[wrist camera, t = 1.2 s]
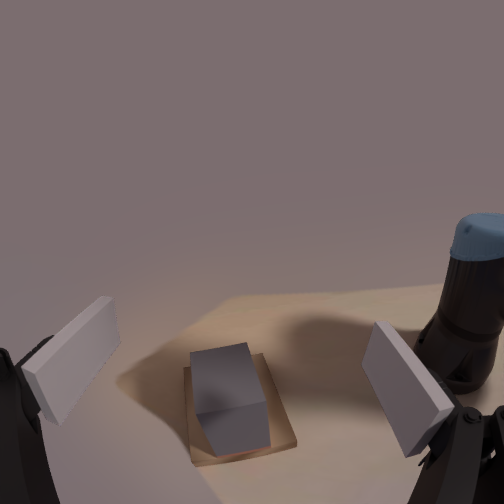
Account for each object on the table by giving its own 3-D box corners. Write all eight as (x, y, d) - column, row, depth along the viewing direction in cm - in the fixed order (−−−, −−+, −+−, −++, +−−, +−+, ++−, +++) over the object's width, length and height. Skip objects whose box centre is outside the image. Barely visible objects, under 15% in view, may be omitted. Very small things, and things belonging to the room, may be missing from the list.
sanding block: (254, 397, 31) (246, 342, 27) (271, 447, 24) (266, 400, 20) (208, 406, 30) (190, 352, 26) (217, 458, 23) (195, 414, 19)
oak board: (263, 361, 40) (262, 352, 39) (296, 446, 25) (297, 440, 25) (186, 375, 38) (183, 367, 37) (195, 466, 23) (191, 461, 23)
